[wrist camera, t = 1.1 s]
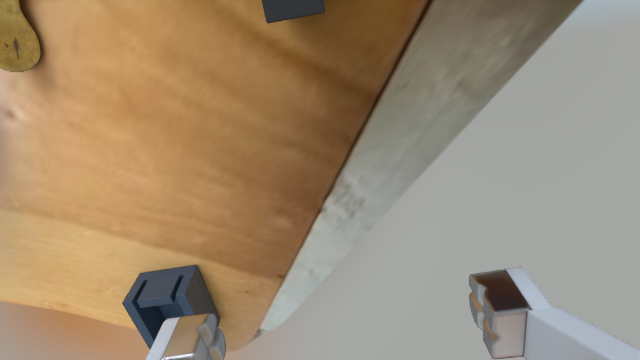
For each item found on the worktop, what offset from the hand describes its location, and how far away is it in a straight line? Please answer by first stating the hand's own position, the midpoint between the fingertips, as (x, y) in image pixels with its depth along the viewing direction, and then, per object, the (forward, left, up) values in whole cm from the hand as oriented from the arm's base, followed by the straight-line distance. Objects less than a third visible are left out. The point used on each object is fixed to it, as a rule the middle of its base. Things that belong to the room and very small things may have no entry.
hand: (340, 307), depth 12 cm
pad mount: (-1, +27, -22) cm, 35 cm away
